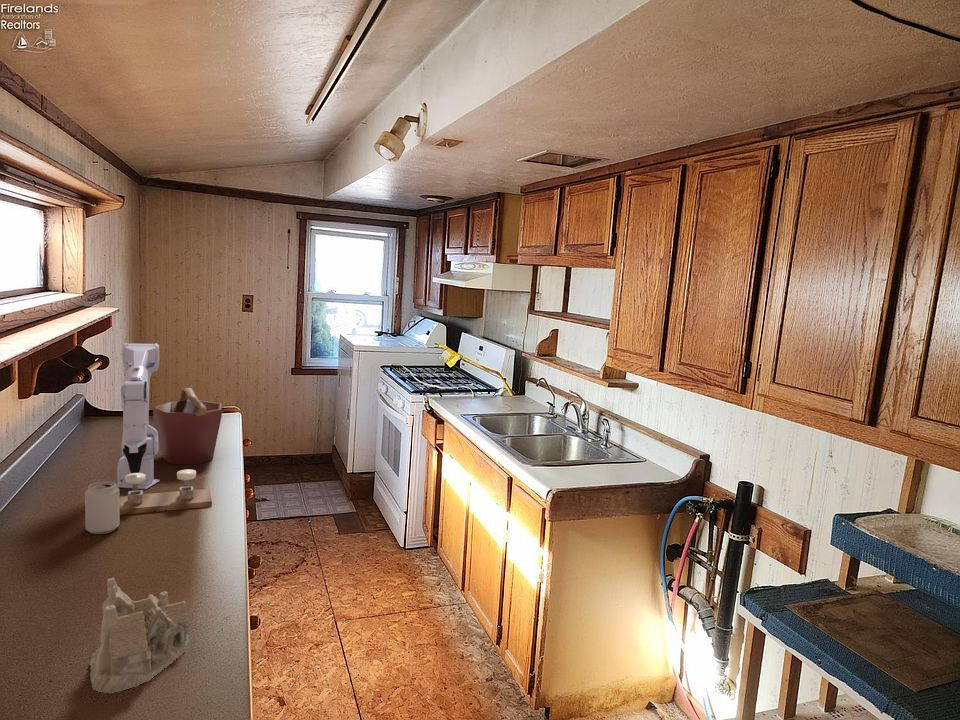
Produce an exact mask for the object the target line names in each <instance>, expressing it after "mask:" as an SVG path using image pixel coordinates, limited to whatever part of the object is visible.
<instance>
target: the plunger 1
mask: <svg viewBox="0 0 960 720" xmlns="http://www.w3.org/2000/svg"><path fill="white" fill-rule="evenodd" d="M145 481H146V475H145V474H144V473H132V474H128V475H126V476H125V483H127V484H133V488H132V491H139V489H138V484H139V483H143V482H145Z"/></svg>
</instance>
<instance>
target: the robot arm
mask: <svg viewBox="0 0 960 720" xmlns="http://www.w3.org/2000/svg"><path fill="white" fill-rule="evenodd" d="M121 350H122V353H121V354H122V355H121V357H122V358H121V359H122V362H123V368H124V369H125V376H124V383H121V384H120V399H121V407H122V409H123V410H122V413H123V414H122V417H123V418H122V421H123V425H122V431H123V432H122V438H121V445H120V446H121V447H120V448H121V449H120V451H121V457H120V458H119V460H118V463H117V467H116V471H117V473H116V474H117V476H116V477H117V478H116V480H117V482H116V484H117V485H116V486H117V487H118V488H119V489H120V488H122V489H133V484H127V483H125V476H126V475H128V474H132V473H144V474H145V475H146V481H145V482H143V483H139V484H138V490H147V489H149V488H151V487H153V486H154V485H156V484H157V483H159V482H160V479H157V478H156V479H155V478H154V477H155V476H154V472H155V471H154V469H155V465H154V461H155V460H154V459H155V458H154V456H157V454H159V447H160V444H159V440H158V432H157V430H156V427H155V428H154V427H153V426H152V425H150V424H149V423H150V422H149V419H150V417H149V415H150V414H149V413H150V412H149V411H150V379H151V376H152V374H153V373H155V372H157V371H158V370H159V367H160V345H159V344H158V343H157V342H155V343H130V342H129V343H127V342H124V344H123V345H122V349H121Z"/></svg>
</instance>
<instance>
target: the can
mask: <svg viewBox="0 0 960 720" xmlns="http://www.w3.org/2000/svg"><path fill="white" fill-rule="evenodd" d="M116 485H117V482H114V481H112V480H111V481H107V480H105V481H98V482H93V483H91V484H89V485H87V489H86V491H84V508H85V509H84V510H85V511H84V512H85V513H84V518H85V519H84V521H85V525H84V526H85V530H86V531H87V532H89V533H90V534H92V535H104V534H108V533H112V532H113V531H115V530H116V529H117V528H118V527H119V526H120V523H121V522H120V521H121V519H120V516H121V515H120V500H119V496H120V487H117V486H116Z"/></svg>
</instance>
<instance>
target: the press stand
mask: <svg viewBox="0 0 960 720" xmlns="http://www.w3.org/2000/svg"><path fill="white" fill-rule="evenodd" d="M119 500H120V516H123V515H133V514H143V513H144V514H145V513H154V511H156V512H165V510H167V511H174V510H175V511H177V510H185V509H197V508H205V507H206V508H209V507H212V506H213V505H212V503H213V502H212V493H211V489H210V488H203V489H202V488H201V489H200V488H199V489H194V486H193V485H192V486H190V485H189V486H187V487H185V486H180V487H179V491H178V490H177V491H167V492H166V491H165V492H164V491H163V492H155V493H144V489H138V490H136V491H133V490H128V493H127V495H119Z"/></svg>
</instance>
